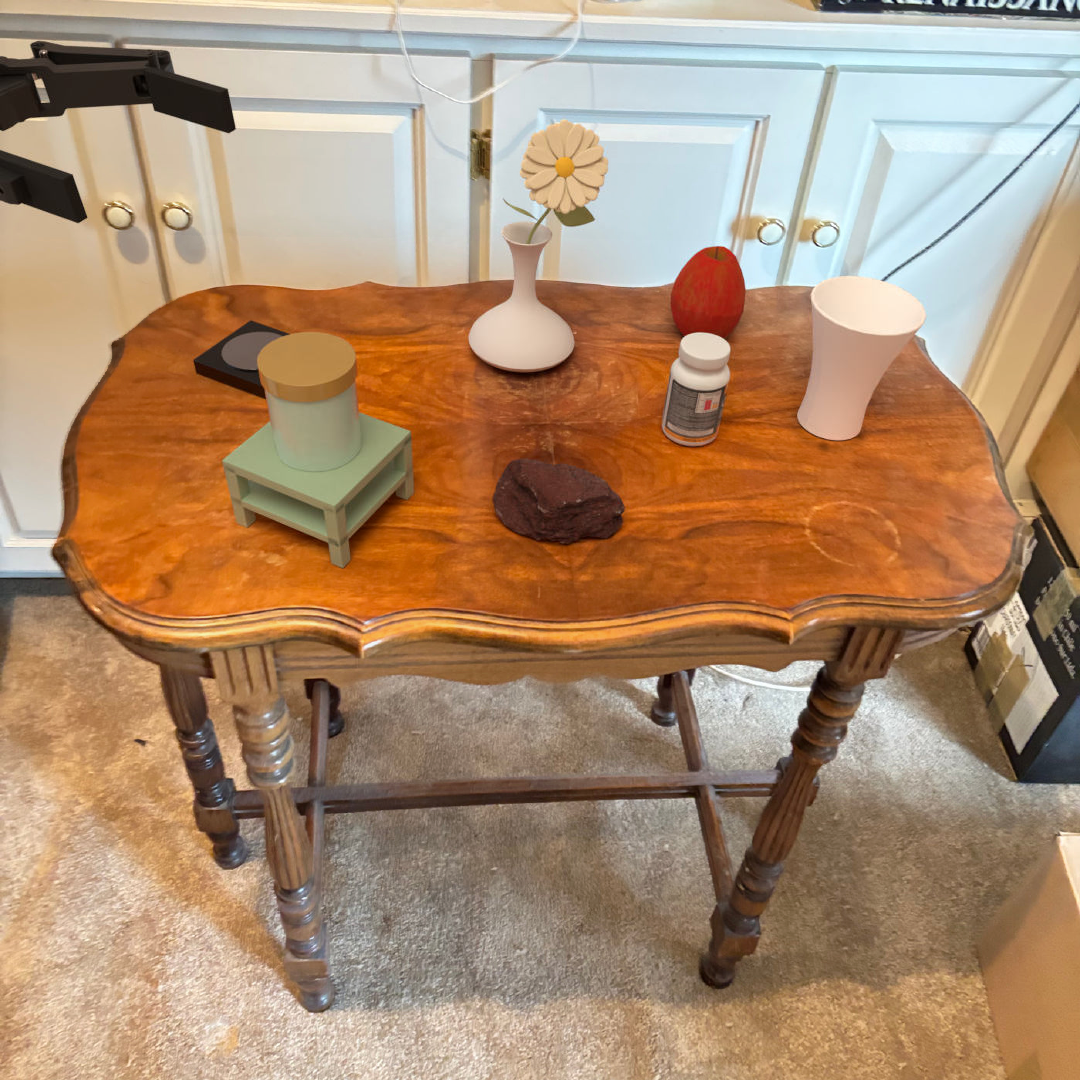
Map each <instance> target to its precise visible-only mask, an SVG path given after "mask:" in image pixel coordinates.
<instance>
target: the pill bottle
mask: <svg viewBox="0 0 1080 1080" xmlns="http://www.w3.org/2000/svg"><path fill="white" fill-rule="evenodd" d="M731 351H732V349H731V346H730V343H729V342H728V341H727V340H726V339H725V338H724V339H723V338H721V337H719V336H717V335H714V334H710V333H692V334H689V335H687V336H684V337H682V338H681V340H680V343H679V347H678V353H677V354H678V357H677V358H676V359H675V360H674V361H673V363H672V364H671V366H670V370H669V376H668V383H667V389H666V394H665V399H664V404H663V405H664V406H663V411H662V418H661V429H662V431H663V434H664V435H665V436H666V437H667V438H668V439H669V440H671V441H672V442H674V443H676V444H677V445H678V444H679V445H682V446H685V447H702V446H706V445H708V444H710V443H712V442H713V441H714V440H715V439H716V438H717V436H718V433H719V430H720V426H721V421H722V417H723V412H724V407H725V402H726V399H727V393H728V388H729V384H730V380H731V370H730V368H729V366H728V363H729V360H730V357H731Z"/></svg>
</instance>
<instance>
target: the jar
mask: <svg viewBox="0 0 1080 1080" xmlns="http://www.w3.org/2000/svg"><path fill="white" fill-rule="evenodd" d="M289 334H290V335H286V336H283V337H280V338H278V339H276V340H274V341H272V342H270V343H269V344H267V345H266V346H265V347H264V348H263V349H262V350H261V351H260V353H259V355H258V358H257V366H258V372H259V377H260V381H261V384H262V386H263V387H264V390H265V395H266V399H265V400H266V405H267V410H268V417H269V421H270V423H271V428H272V434H273V439H274V445H275V450H276V454H277V456H278V457H279V459H280V460H281V461H282V462H283V463H284V464H286V465H288V466H289V467H292V468H294V469H297V470H301V471H307V472H322V471H328V470H333V469H336V468H339V467H341V466H343V465H345V464H347V463H349V462H350V461H351V460H353V459H354V458H355V457H356V456H357V454H358V453H359V451H360V449H361V445H362V440H361V429H360V419H359V412H360V410H359V401H358V389H357V380H356V379H357V377H358V362H357V354H356V350H355V348H354V347H353V345H352V344H350V343H349V342H348V341H347V340H345V339H344V338H342V337H340V336H337V335H334V334H332V333H327V332H319V331H302V332H294V333H289Z"/></svg>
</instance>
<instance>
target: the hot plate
mask: <svg viewBox="0 0 1080 1080" xmlns="http://www.w3.org/2000/svg"><path fill="white" fill-rule="evenodd" d="M290 334H291V333H289V332H286V331H283V330H280V329H277V328H274V327H271V326H269V325H266V324H263V323H260V322H257V321H254V320H252V319H250V320H249V321H247V322H245V323H244V324H243V325H242V326H240V327H239V328H237V329H236V330H234V331H233V332H231V333H229V334H228V335H227V336H225V337H224V338H223V339H221V340H220V341H218V342H216V343H215V344H214V345H212V346H211V347H209V348H208V349H207V350H205V351H204V352H202V353H201V354H200V355H198V356H196V357H195V358H194V359H192V362H193V366H194V371H195V373H196V374H198V375H201V376H203V377H206V378H208V379H210V380H214V381H216V382H218V383H222V384H224V385H227V386H229V387H232V388H234V389H237V390H240V391H243V392H245V393H248V394H251V395H253V396H255V397H258V398H262V399H264V400H266V395H265V390H264V387H263V386H262V384H261V381H260V377H259V372H258V366H257V358H258V355H259V353H260V351H261V350H262V349H263V348H264V347H265V346H266V345H267V344H269V343H270V342H272V341H274V340H276V339H278V338H280V337H283V336H286V335H290Z"/></svg>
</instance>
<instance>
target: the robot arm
mask: <svg viewBox="0 0 1080 1080" xmlns="http://www.w3.org/2000/svg"><path fill="white" fill-rule="evenodd" d="M29 47H30V49H31V54H32V55H33V56H32V57H30V58H15V57H14V58H13V57H7V56H4V55H0V131H1V132H5V131H7V130H10V129H11V128H13V127H14V126H16V125H17V124H19V123H24V122H26V120H29V119H38V118H39V119H41V118H57V117H62V116H63V115H64V114H65V112H66V110H69V109H83V108H102V107H117V106H118V107H119V106H120V107H121V106H136V105H152V108H153V111H154V112H157V113H160V114H163V115H166V116H170V117H173V118H176V119H180V120H183V121H187V122H190V123H193V124H196V125H199V126H202V127H205V128H210V129H211V130H212V129H213V130H216V131H219V132H222V133H225V134H231V133H232V132H234V131H236V130H237V127H236V122H235V117H234V112H233V107H232V103H231V97H230V92H229V88H227V87H224V86H221V85H216V84H213V83H209V82H206V81H203V80H199V79H196V78H191V77H188V76H184V75H182V74H178V73H175V69H174V66H173V60H172V56H171V52H170V51H169V50H166V49H151V48H125V47H108V46H107V47H105V46H103V47H102V46H85V45H84V46H83V45H81V46H80V45H64V44H59V43H54V42H51V41H45V40H36V41H32V42H31V43H30V44H29ZM38 80H41V82H42V83H43V86H44V89H45V93H46V95H47V98H48V100H49V101H47V102H42V99H41V96H40V94H39V90H38V87H37V85H36V82H35V81H38ZM0 201H1V202H3V203H6V204H8V205H16V206H19V205H21V204H22V205H25V206H28V207H31V208H33V209H36V210H38V211H42V212H45V213H48V214H51V215H53V216H56V217H59V218H62V219H64V220H66V221H67V220H68V221H70V222H73V223H76V224H80V223H81V222H83V221H85V220H87V219H88V215H87V212H86V209H85V206H84V203H83V200H82V197H81V194H80V191H79V189H78V185H77V183H76V180H75V177H74V174H73V173H69V172H67V171H65V170H61V169H58V168H55V167H52V166H50V165H47V164H43V163H41V162H37V161H34V160H31V159H29V158H25V157H22V156H19V155H16V154H14V153H11V152H8V151H5V150H2V149H0Z"/></svg>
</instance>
